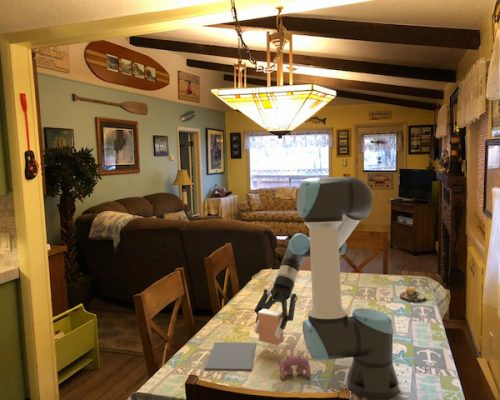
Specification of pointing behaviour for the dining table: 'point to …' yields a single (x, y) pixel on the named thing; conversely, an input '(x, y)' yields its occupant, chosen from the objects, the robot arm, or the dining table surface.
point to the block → (269, 326)
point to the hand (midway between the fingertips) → (266, 334)
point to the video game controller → (294, 361)
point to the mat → (231, 356)
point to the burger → (412, 295)
